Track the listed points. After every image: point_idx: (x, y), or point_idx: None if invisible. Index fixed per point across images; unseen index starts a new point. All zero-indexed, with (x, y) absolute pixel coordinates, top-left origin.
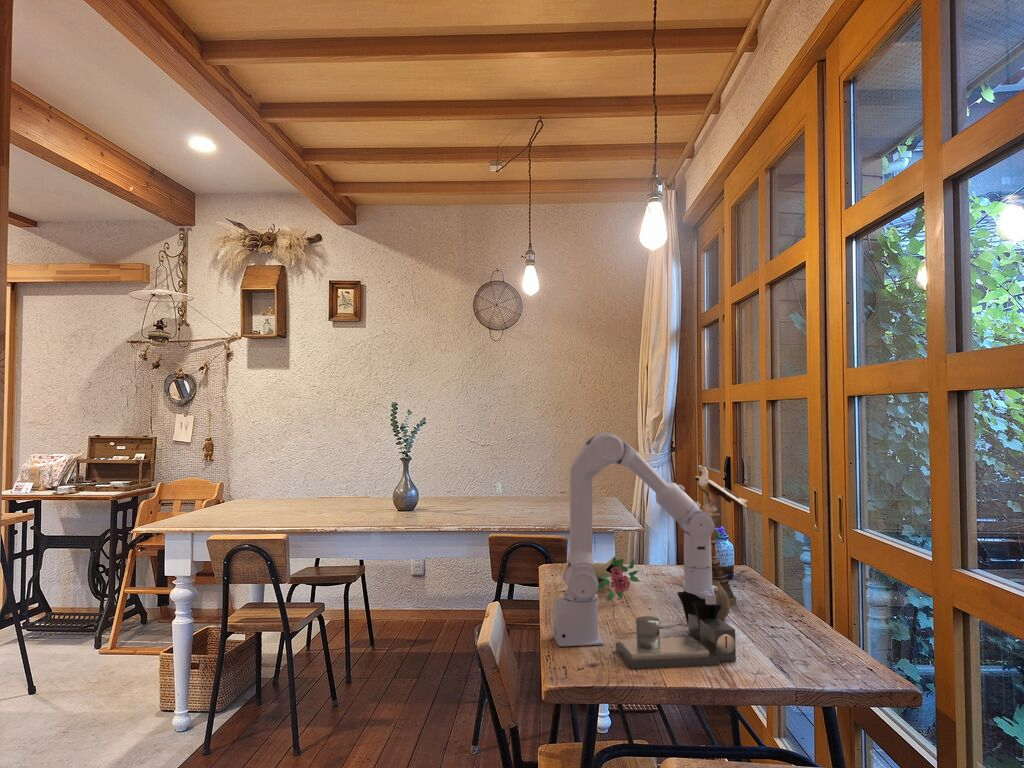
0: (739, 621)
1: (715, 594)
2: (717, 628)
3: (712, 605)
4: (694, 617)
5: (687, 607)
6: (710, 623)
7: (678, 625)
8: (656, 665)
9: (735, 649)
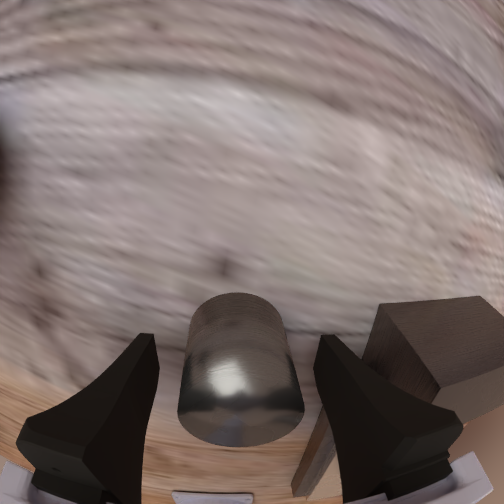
0: (9, 51)
1: None
2: (501, 397)
3: (439, 456)
4: (280, 435)
5: (140, 441)
6: (462, 416)
7: (53, 334)
8: None
9: (500, 314)
